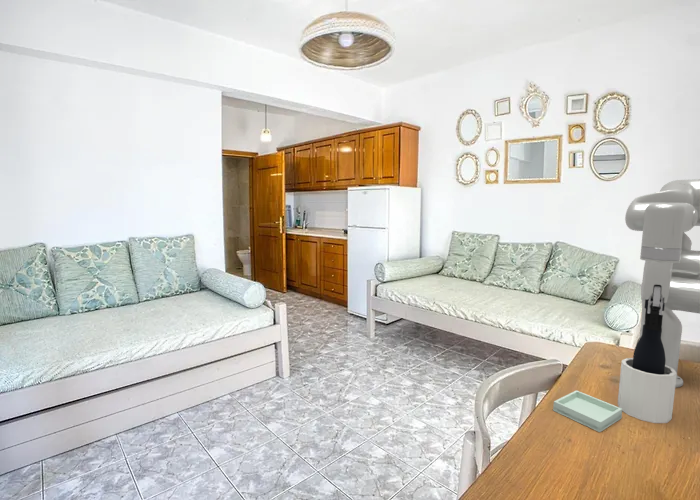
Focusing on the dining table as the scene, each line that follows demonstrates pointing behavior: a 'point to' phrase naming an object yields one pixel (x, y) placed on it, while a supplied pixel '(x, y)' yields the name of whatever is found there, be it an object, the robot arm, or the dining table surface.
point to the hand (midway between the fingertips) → (652, 326)
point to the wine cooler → (646, 393)
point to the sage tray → (588, 410)
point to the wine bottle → (650, 350)
